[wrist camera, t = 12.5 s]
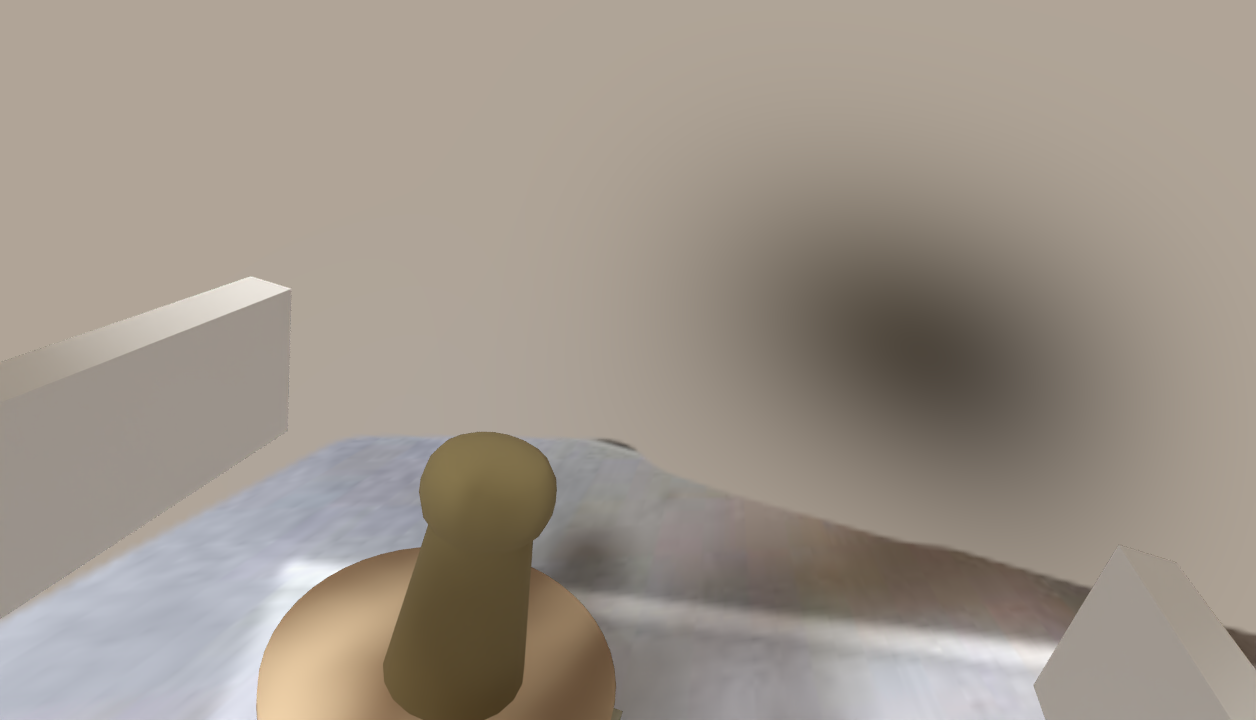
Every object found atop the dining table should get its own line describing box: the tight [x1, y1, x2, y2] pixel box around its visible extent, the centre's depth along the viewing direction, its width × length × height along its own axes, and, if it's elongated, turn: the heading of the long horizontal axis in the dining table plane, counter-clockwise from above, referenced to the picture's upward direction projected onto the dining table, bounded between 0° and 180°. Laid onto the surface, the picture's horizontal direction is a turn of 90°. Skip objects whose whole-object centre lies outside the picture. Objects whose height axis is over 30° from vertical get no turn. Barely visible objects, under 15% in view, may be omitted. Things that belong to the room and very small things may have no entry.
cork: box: [383, 432, 557, 720], centre depth 30 cm, size 6×6×11 cm
